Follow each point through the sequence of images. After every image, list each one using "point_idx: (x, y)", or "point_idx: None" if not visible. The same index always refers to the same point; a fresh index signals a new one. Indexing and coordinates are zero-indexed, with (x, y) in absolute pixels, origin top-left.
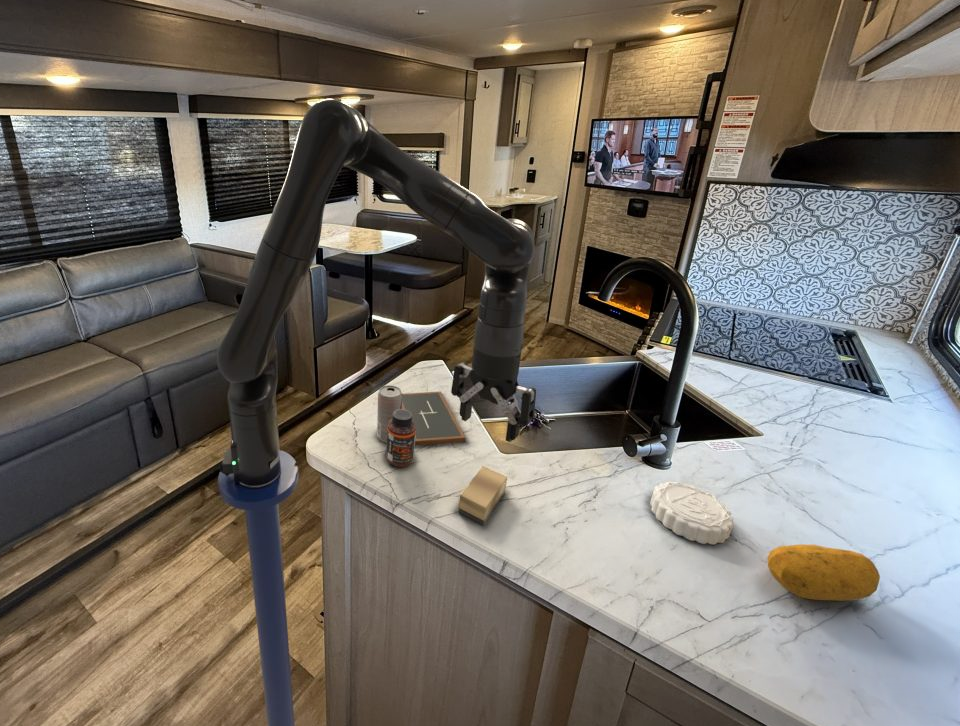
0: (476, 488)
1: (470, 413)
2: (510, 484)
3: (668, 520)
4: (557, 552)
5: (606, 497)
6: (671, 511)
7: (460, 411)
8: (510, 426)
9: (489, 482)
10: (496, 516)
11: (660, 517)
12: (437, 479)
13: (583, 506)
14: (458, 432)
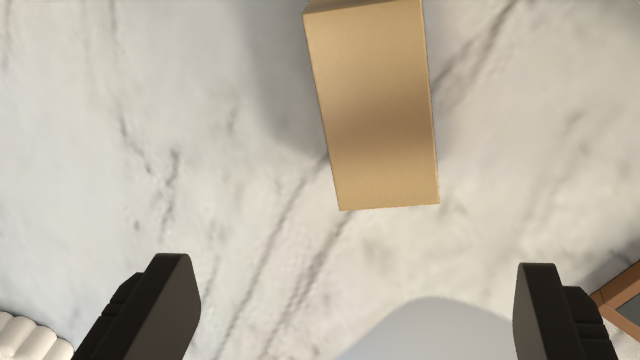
0: (389, 80)
1: (518, 345)
2: (356, 217)
3: (10, 332)
4: (109, 70)
5: None
6: (3, 356)
7: (592, 316)
8: (105, 342)
9: (370, 144)
10: (309, 63)
11: (36, 333)
12: (582, 64)
13: None
14: (633, 317)
